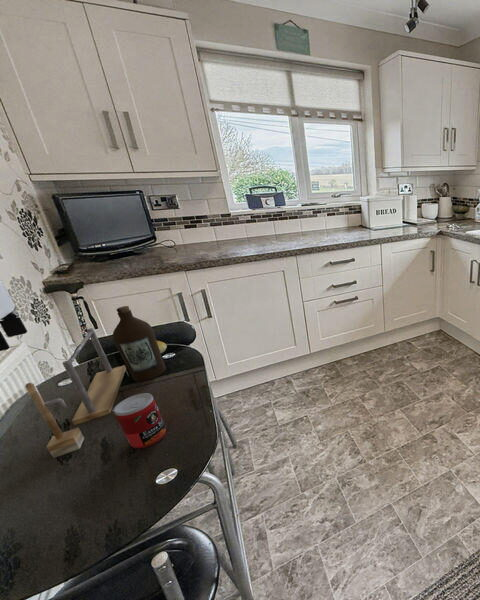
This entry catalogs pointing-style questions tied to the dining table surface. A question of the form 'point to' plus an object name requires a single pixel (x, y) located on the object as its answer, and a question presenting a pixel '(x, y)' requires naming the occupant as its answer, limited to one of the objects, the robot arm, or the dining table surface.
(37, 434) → the dining table surface
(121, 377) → the rack
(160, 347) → the bread roll
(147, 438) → the canned food
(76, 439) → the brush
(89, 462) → the dining table surface
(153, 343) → the olive oil
